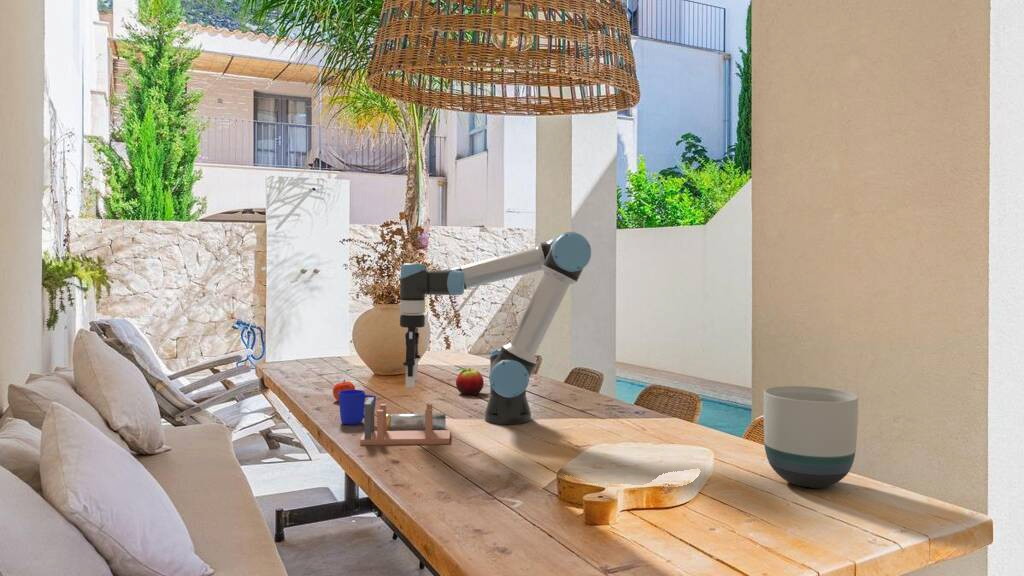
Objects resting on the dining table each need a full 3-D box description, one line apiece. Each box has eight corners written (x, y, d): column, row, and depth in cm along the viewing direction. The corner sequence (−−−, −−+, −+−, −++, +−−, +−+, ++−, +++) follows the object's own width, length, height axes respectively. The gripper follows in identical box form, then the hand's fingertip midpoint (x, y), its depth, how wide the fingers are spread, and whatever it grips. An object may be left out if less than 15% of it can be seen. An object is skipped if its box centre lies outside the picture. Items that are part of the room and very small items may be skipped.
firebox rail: (450, 435, 218) (450, 396, 218) (449, 443, 209) (449, 403, 208) (364, 436, 217) (364, 397, 216) (360, 444, 207) (359, 404, 206)
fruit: (482, 396, 279) (482, 370, 279) (454, 396, 279) (454, 370, 279) (484, 391, 290) (484, 366, 290) (456, 391, 290) (456, 366, 290)
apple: (360, 400, 271) (360, 378, 271) (344, 404, 264) (344, 382, 264) (344, 398, 275) (344, 376, 275) (328, 401, 268) (328, 379, 268)
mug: (370, 427, 228) (370, 395, 228) (334, 425, 231) (334, 393, 230) (380, 421, 236) (380, 390, 236) (345, 419, 239) (345, 389, 238)
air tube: (445, 421, 228) (445, 409, 225) (445, 433, 224) (445, 421, 221) (380, 422, 227) (379, 410, 224) (379, 434, 223) (378, 422, 220)
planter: (849, 504, 158) (851, 405, 157) (752, 488, 169) (754, 395, 168) (861, 480, 176) (863, 391, 175) (773, 467, 186) (774, 383, 185)
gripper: (403, 310, 236) (402, 376, 237) (396, 317, 211) (395, 390, 212) (426, 311, 237) (426, 376, 238) (422, 317, 212) (422, 390, 213)
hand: (411, 383), depth 225 cm, fingers open, 13 cm apart
